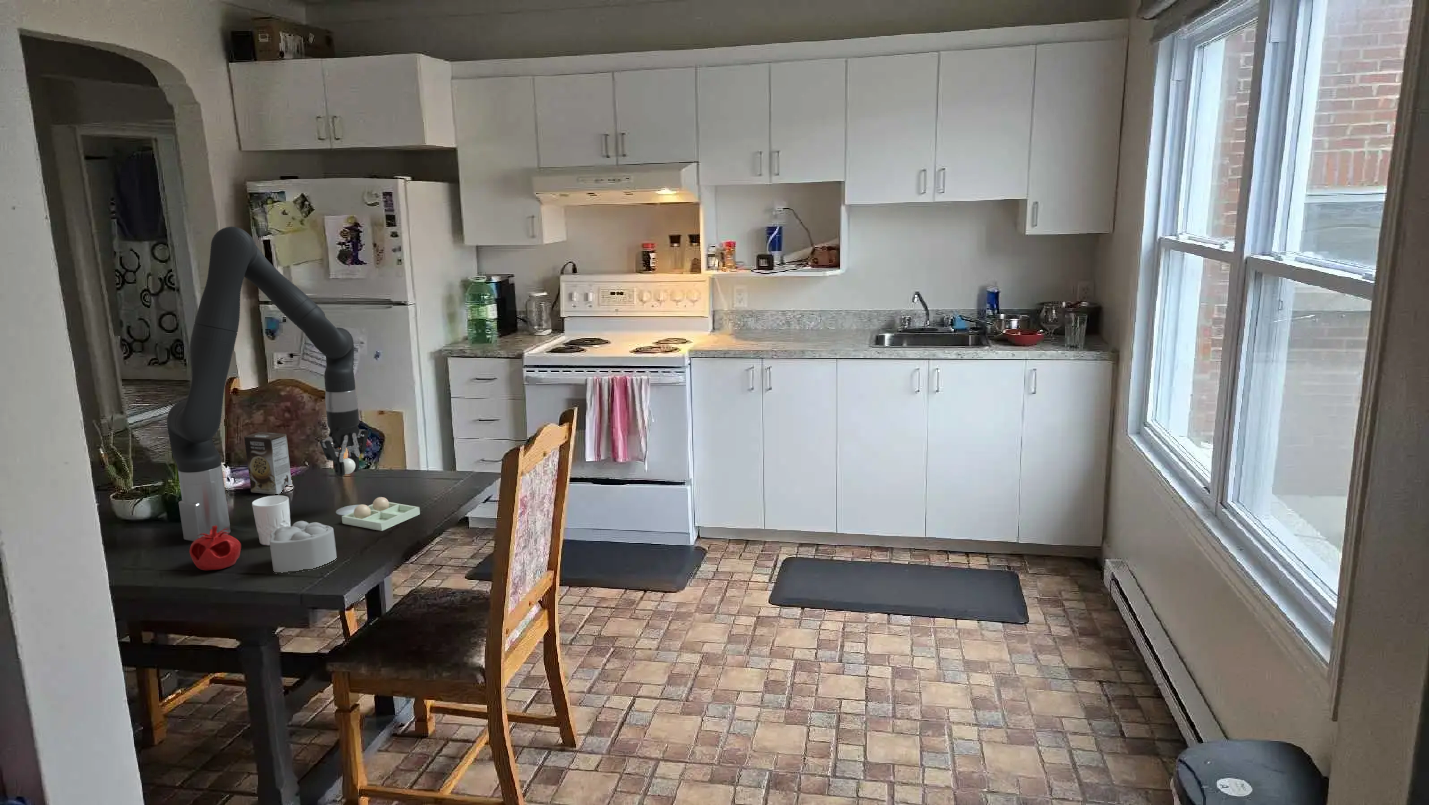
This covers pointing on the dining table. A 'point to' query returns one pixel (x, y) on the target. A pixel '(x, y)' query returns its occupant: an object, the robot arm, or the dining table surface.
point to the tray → (380, 514)
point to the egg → (349, 465)
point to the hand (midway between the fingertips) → (347, 473)
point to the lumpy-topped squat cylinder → (302, 546)
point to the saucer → (346, 510)
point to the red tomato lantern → (215, 550)
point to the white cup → (270, 515)
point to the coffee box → (268, 462)
